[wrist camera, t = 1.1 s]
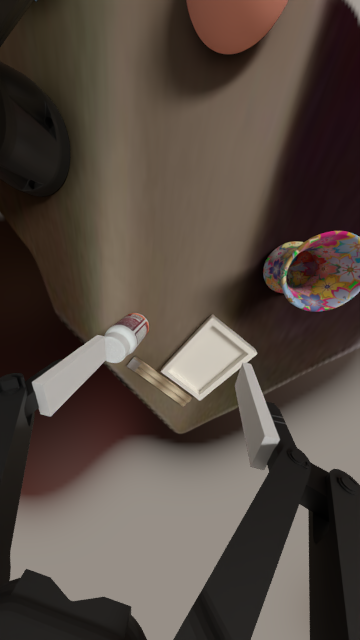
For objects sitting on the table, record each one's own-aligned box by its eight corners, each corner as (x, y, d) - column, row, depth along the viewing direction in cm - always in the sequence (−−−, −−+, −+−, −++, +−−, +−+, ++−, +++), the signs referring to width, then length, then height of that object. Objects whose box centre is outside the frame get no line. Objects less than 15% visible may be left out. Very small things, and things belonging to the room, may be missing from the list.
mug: (264, 300, 32) (288, 319, 23) (254, 251, 30) (276, 248, 20) (337, 280, 29) (402, 293, 19) (334, 223, 27) (406, 204, 17)
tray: (162, 366, 42) (160, 371, 40) (212, 313, 35) (212, 317, 33) (200, 394, 43) (199, 400, 41) (255, 348, 36) (257, 353, 34)
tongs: (128, 363, 43) (126, 366, 42) (135, 355, 42) (133, 358, 41) (183, 403, 45) (183, 407, 44) (191, 396, 44) (190, 400, 43)
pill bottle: (119, 319, 39) (86, 342, 29) (140, 307, 37) (113, 327, 27) (134, 340, 40) (107, 370, 30) (155, 330, 39) (134, 358, 28)
